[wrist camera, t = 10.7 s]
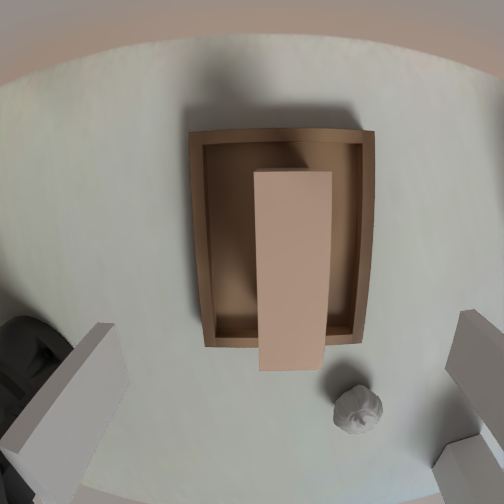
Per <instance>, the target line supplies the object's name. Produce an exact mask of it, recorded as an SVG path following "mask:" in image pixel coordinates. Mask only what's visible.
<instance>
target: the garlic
mask: <svg viewBox="0 0 504 504" xmlns="http://www.w3.org/2000/svg"><path fill="white" fill-rule="evenodd" d="M382 413H383V408H382V402H381V400H380V398H379V397H378V396H377V395H376V394H375V393H373V392H372V391H370V390H369V389H367V388H366V387H365V386H363V385H356V386H354V387H353V388H352V389H351V390H348V391H346V392H344V393H343V394H342V395H341V396H340V397H339V398H338V399H337V400H336V401H335V407H334V414H333V421H334V424H335V425H336V426H338V427H340V428H341V429H342V430H344V431H346V432H347V433H349V434H359V433H365V432H367V431H368V430H371V429H372V428H373V427H374V426H375V425H376V424H377V423H378V421H379V420H380V418H381V416H382Z"/></svg>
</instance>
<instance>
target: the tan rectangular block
mask: <svg viewBox="0 0 504 504" xmlns="http://www.w3.org/2000/svg"><path fill="white" fill-rule="evenodd" d="M254 197H255V231H256V266H257V302H258V340H259V371H293V370H316V369H322V367H323V357H324V347H325V336H326V323H327V310H328V295H329V277H330V255H331V223H332V172H331V171H325V170H320V169H314V168H258V169H257V170H255V171H254Z"/></svg>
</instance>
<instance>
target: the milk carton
mask: <svg viewBox="0 0 504 504" xmlns="http://www.w3.org/2000/svg"><path fill="white" fill-rule="evenodd" d="M432 472H433V474H434V477H435V479H436V481H437V484H438V486H439V489H440V491H441V494H442V496H443V499H444V501H445V504H504V472H503V470H502V469H501V467H500V465H499V463H498V462H497V460H496V458H495V457H494V455H493V453H492V452H491V450H490V448H489V447H488V445H487V443H486V442H485V440H484V438H483V437H482V435H481V434H479V435H476V436H473V437H470V438H467V439H463V440H460V441H457V442H453V443H450V444H447V445H446V447H445V449H444V450H443V452H442V454H441V455H440V457H439V459H438V460H437V462H436V464H435V465H434V467H433V468H432Z"/></svg>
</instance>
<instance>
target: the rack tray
mask: <svg viewBox="0 0 504 504" xmlns="http://www.w3.org/2000/svg"><path fill="white" fill-rule="evenodd" d="M189 157H190V178H191V196H192V213H193V227H194V241H195V253H196V265H197V276H198V287H199V297H200V307H201V317H202V326H203V335H204V343H205V347H234V348H259V340H258V302H257V266H256V231H255V197H254V171H255V170H257V169H258V168H314V169H320V170H325V171H331V172H332V223H331V255H330V277H329V295H328V310H327V323H326V336H325V345H342V344H356V343H362V338H363V331H364V324H365V317H366V308H367V300H368V291H369V281H370V270H371V258H372V244H373V227H374V202H375V132H374V131H365V130H348V129H323V128H259V129H233V130H216V131H202V132H190V133H189Z"/></svg>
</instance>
